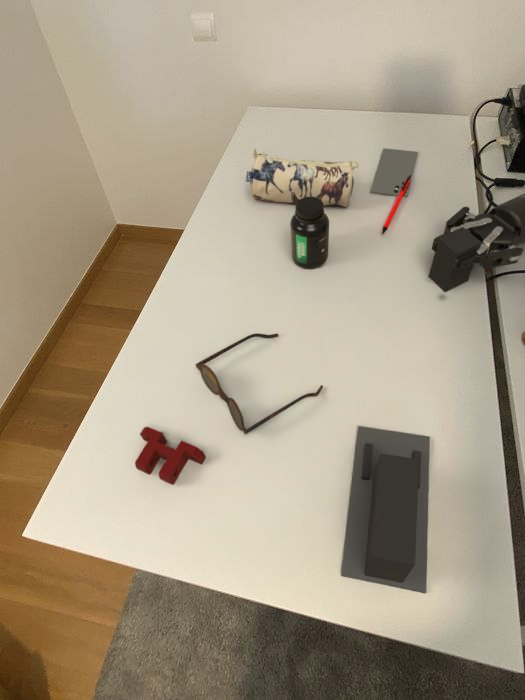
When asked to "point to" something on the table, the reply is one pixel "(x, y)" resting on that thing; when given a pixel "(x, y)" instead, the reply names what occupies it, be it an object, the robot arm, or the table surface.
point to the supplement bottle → (309, 233)
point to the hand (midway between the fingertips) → (444, 255)
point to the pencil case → (301, 180)
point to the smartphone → (394, 172)
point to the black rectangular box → (452, 258)
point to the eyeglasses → (234, 410)
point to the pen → (396, 204)
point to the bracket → (166, 455)
